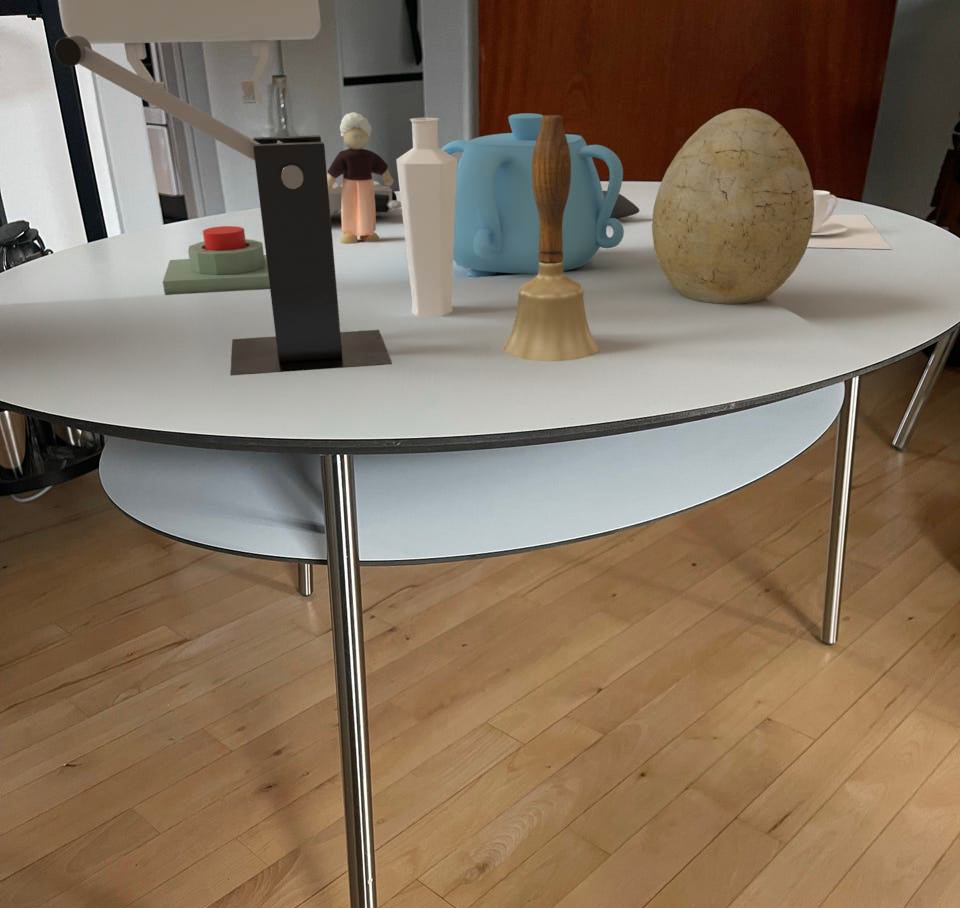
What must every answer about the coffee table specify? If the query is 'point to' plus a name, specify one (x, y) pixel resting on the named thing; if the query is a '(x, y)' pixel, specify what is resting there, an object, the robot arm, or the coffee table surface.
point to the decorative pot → (527, 202)
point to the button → (224, 238)
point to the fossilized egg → (733, 210)
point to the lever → (150, 93)
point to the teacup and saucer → (841, 228)
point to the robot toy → (383, 199)
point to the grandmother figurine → (357, 180)
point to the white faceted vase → (428, 218)
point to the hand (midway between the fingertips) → (206, 105)
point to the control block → (218, 270)
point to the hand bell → (551, 264)
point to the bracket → (300, 268)
